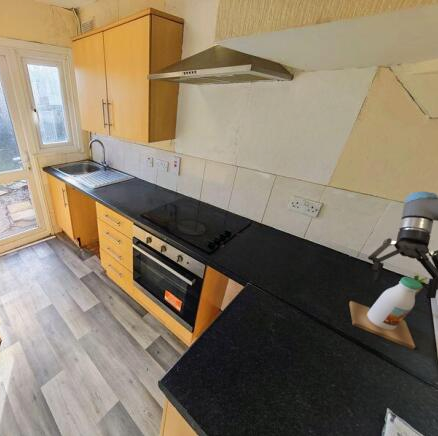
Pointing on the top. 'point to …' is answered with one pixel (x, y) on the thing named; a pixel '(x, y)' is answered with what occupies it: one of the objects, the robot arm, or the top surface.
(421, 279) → the carrot
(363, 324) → the chopping board
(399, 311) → the milk bottle
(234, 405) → the top surface
